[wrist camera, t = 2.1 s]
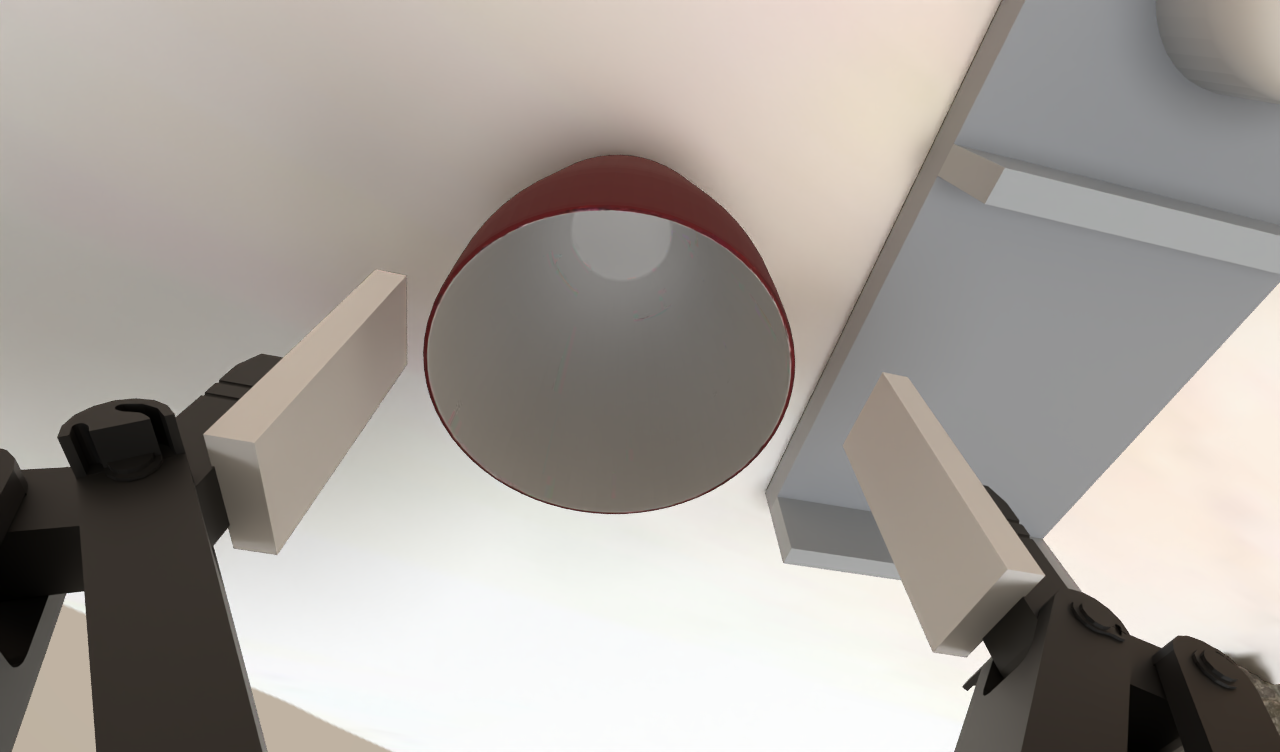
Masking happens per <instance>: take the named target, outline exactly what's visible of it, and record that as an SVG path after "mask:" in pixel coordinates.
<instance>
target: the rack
mask: <svg viewBox="0 0 1280 752" xmlns="http://www.w3.org/2000/svg"><path fill="white" fill-rule="evenodd" d="M1279 282H1280V104H1274V103H1268V102H1262V101H1256V100H1250V99H1244V98H1238V97H1232V96H1227V95H1221V94H1216V93H1214V92H1211V91H1208V90H1206V89H1203V88H1201V87H1199V86H1198V85H1196V84H1195V83H1193V82H1191V81H1190V80H1188V79H1187V78H1186V77H1185V76H1184V75H1183V74H1182V73H1181V72H1180V71H1179V70H1178V69H1177V68H1176V67H1175V65H1174V64H1173V62H1172V61H1171V59H1170V57H1169V56H1168V54H1167V53H1166V50H1165V47H1164V45H1163V42H1162V39H1161V37H1160V33H1159V27H1158V22H1157V17H1156V0H1002V2H1001V4H1000V6H999V8H998V10H997V12H996V14H995V16H994V19H993V21H992V23H991V25H990V27H989V29H988V31H987V33H986V35H985V37H984V39H983V41H982V43H981V46H980V48H979V50H978V52H977V54H976V56H975V58H974V60H973V62H972V64H971V66H970V68H969V70H968V73H967V75H966V77H965V79H964V81H963V83H962V85H961V87H960V89H959V91H958V93H957V95H956V98H955V100H954V102H953V104H952V106H951V108H950V110H949V112H948V114H947V116H946V118H945V120H944V122H943V125H942V127H941V129H940V131H939V133H938V135H937V137H936V139H935V141H934V143H933V145H932V147H931V149H930V152H929V154H928V156H927V158H926V160H925V162H924V164H923V166H922V168H921V170H920V172H919V174H918V176H917V179H916V181H915V183H914V185H913V187H912V189H911V191H910V193H909V195H908V197H907V199H906V201H905V203H904V206H903V208H902V210H901V212H900V214H899V216H898V218H897V220H896V222H895V224H894V226H893V228H892V230H891V233H890V235H889V237H888V239H887V241H886V243H885V245H884V247H883V249H882V251H881V253H880V255H879V257H878V260H877V262H876V264H875V266H874V268H873V270H872V272H871V274H870V276H869V278H868V280H867V282H866V284H865V287H864V289H863V291H862V293H861V295H860V297H859V299H858V301H857V303H856V305H855V307H854V309H853V311H852V314H851V316H850V318H849V320H848V322H847V324H846V326H845V328H844V330H843V332H842V334H841V336H840V339H839V341H838V343H837V345H836V347H835V349H834V351H833V353H832V355H831V357H830V359H829V361H828V363H827V366H826V368H825V370H824V372H823V374H822V376H821V378H820V380H819V382H818V384H817V386H816V388H815V390H814V393H813V395H812V397H811V399H810V401H809V403H808V405H807V407H806V409H805V411H804V413H803V415H802V417H801V420H800V422H799V424H798V426H797V428H796V430H795V432H794V434H793V436H792V438H791V440H790V442H789V444H788V447H787V449H786V451H785V453H784V455H783V457H782V459H781V461H780V463H779V465H778V467H777V469H776V471H775V474H774V476H773V478H772V480H771V482H770V484H769V486H768V488H767V490H766V492H765V494H766V497H767V501H768V505H769V509H770V513H771V517H772V521H773V525H774V529H775V533H776V537H777V541H778V544H779V548H780V552H781V556H782V560H783V563H786V564H793V565H800V566H807V567H813V568H820V569H827V570H834V571H841V572H848V573H855V574H862V575H869V576H875V577H882V578H889V579H896V580H901V578H900V576H899V574H898V571H897V569H896V567H895V564H894V562H893V560H892V558H891V555H890V553H889V551H888V548H887V546H886V544H885V542H884V539H883V537H882V535H881V532H880V530H879V528H878V525H877V523H876V521H875V519H874V516H873V514H872V512H871V509H870V507H869V505H868V503H867V500H866V498H865V496H864V493H863V491H862V489H861V487H860V484H859V482H858V480H857V477H856V475H855V473H854V471H853V468H852V466H851V464H850V461H849V459H848V457H847V454H846V452H845V450H844V448H843V444H844V442H845V440H846V438H847V436H848V435H849V433H850V431H851V429H852V427H853V425H854V424H855V422H856V420H857V418H858V416H859V414H860V413H861V411H862V409H863V407H864V405H865V404H866V402H867V400H868V398H869V396H870V394H871V393H872V391H873V389H874V387H875V385H876V383H877V382H878V380H879V378H880V376H881V374H882V372H885V373H890V374H894V375H899V376H904V377H908V378H909V380H910V381H911V382H912V384H913V385H914V387H915V388H916V390H917V391H918V393H919V394H920V395H921V397H922V398H923V400H924V401H925V403H926V404H927V406H928V407H929V408H930V410H931V411H932V413H933V414H934V416H935V417H936V419H937V420H938V421H939V423H940V424H941V426H942V427H943V429H944V430H945V431H946V433H947V434H948V436H949V437H950V439H951V440H952V442H953V443H954V444H955V446H956V447H957V449H958V450H959V452H960V453H961V455H962V456H963V457H964V459H965V460H966V462H967V463H968V465H969V466H970V468H971V469H972V470H973V472H974V473H975V475H976V476H977V478H978V479H979V481H980V482H981V483H982V485H985V486H989V487H990V488H991V489H992V490H993V491H994V492H995V493H996V494H997V495H999V496H1000V497H1001V498H1002V499H1003V500H1004V501H1005V502H1006V503H1007V504H1008V505H1009V507H1010V508H1011V509H1012V511H1013V512H1014V514H1015V515H1016V516H1017V518H1018V519H1019V521H1020V522H1019V524H1022V525H1023V526H1024V528H1025V529H1026V530H1027V532H1028V533H1029V535H1030V539H1033V540H1034V541H1035V543H1036V544H1037V546H1038V547H1039V548H1040V550H1041V551H1042V553H1043V554H1044V555H1045V557H1046V558H1047V560H1048V561H1049V562H1050V564H1051V565H1052V567H1053V568H1054V569H1055V571H1056V572H1057V574H1058V575H1059V576H1060V578H1061V579H1062V581H1063V582H1064V583H1065V585H1066V586H1067V588H1069V589H1073V590H1076V591H1080V592H1082V591H1081V590H1080V589H1079V587H1078V586H1077V585H1076V583H1075V582H1074V581H1073V579H1072V578H1071V577H1070V575H1069V574H1068V573H1067V571H1066V570H1065V568H1064V567H1063V566H1062V564H1061V563H1060V562H1059V560H1058V559H1057V558H1056V556H1055V555H1054V554H1053V552H1052V551H1051V550H1050V548H1049V547H1048V546H1047V544H1046V543H1045V542H1044V540H1043V538H1044V537H1045V536H1046V535H1047V534H1048V532H1049V531H1050V530H1051V529H1052V528H1053V527H1054V526H1055V525H1056V524H1057V523H1058V522H1059V521H1060V519H1061V518H1062V517H1063V516H1064V515H1065V514H1066V513H1067V512H1068V511H1069V510H1070V509H1071V508H1072V506H1073V505H1074V504H1075V503H1076V502H1077V501H1078V500H1079V499H1080V498H1081V497H1082V496H1083V495H1084V493H1085V492H1086V491H1087V490H1088V489H1089V488H1090V487H1091V486H1092V485H1093V484H1094V483H1095V482H1096V480H1097V479H1098V478H1099V477H1100V476H1101V475H1102V474H1103V473H1104V472H1105V471H1106V470H1107V469H1108V468H1109V466H1110V465H1111V464H1112V463H1113V462H1114V461H1115V460H1116V459H1117V458H1118V457H1119V456H1120V455H1121V453H1122V452H1123V451H1124V450H1125V449H1126V448H1127V447H1128V446H1129V445H1130V444H1131V443H1132V442H1133V440H1134V439H1135V438H1136V437H1137V436H1138V435H1139V434H1140V433H1141V432H1142V431H1143V430H1144V429H1145V427H1146V426H1147V425H1148V424H1149V423H1150V422H1151V421H1152V420H1153V419H1154V418H1155V417H1156V416H1157V414H1158V413H1159V412H1160V411H1161V410H1162V409H1163V408H1164V407H1165V406H1166V405H1167V404H1168V403H1169V401H1170V400H1171V399H1172V398H1173V397H1174V396H1175V395H1176V394H1177V393H1178V392H1179V391H1180V390H1181V389H1182V387H1183V386H1184V385H1185V384H1186V383H1187V382H1188V381H1189V380H1190V379H1191V378H1192V377H1193V376H1194V374H1195V373H1196V372H1197V371H1198V370H1199V369H1200V368H1201V367H1202V366H1203V365H1204V364H1205V363H1206V361H1207V360H1208V359H1209V358H1210V357H1211V356H1212V355H1213V354H1214V353H1215V352H1216V351H1217V350H1218V348H1219V347H1220V346H1221V345H1222V344H1223V343H1224V342H1225V341H1226V340H1227V339H1228V338H1229V337H1230V335H1231V334H1232V333H1233V332H1234V331H1235V330H1236V329H1237V328H1238V327H1239V326H1240V325H1241V324H1242V323H1243V321H1244V320H1245V319H1246V318H1247V317H1248V316H1249V315H1250V314H1251V313H1252V312H1253V311H1254V310H1255V308H1256V307H1257V306H1258V305H1259V304H1260V303H1261V302H1262V301H1263V300H1264V299H1265V298H1266V297H1267V295H1268V294H1269V293H1270V292H1271V291H1272V290H1273V289H1274V288H1275V287H1276V286H1277V285H1278V284H1279Z"/></svg>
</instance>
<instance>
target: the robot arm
mask: <svg viewBox="0 0 1280 752" xmlns="http://www.w3.org/2000/svg"><path fill="white" fill-rule="evenodd" d="M406 365H407V276H406V275H402V274H397V273H392V272H387V271H382V270H377V269H376V270H375V271H373V272H372V273H371V274H370V275H369V276H368V277H367V278H366V279H365V280H364V281H363V282H362V283H361V284H360V285H359V286H358V287H357V288H356V289H355V290H354V291H353V292H351V293H350V294H349V295H348V296H347V297H346V298H345V299H344V300H343V301H342V302H341V303H340V304H339V305H338V306H337V307H336V308H335V309H334V310H333V311H332V312H331V313H330V314H328V315H327V316H326V317H325V318H324V319H323V320H322V321H321V322H320V323H319V324H318V325H317V326H316V327H315V328H314V329H313V330H312V331H311V332H310V333H309V334H308V335H306V336H305V337H304V338H303V339H302V340H301V341H300V342H299V343H298V344H297V345H296V346H295V347H294V348H293V349H292V350H291V351H290V352H289V353H288V354H287V355H286V356H285V357H283V358H282V357H277V356H271V355H266V354H260V355H258V356H256V357H253V358H251V359H249V360H247V361H244V362H242V363H240V364H237V365H236V366H235V367H234V368H232V369H231V370H230V371H229V372H228V373H227V374H225V375H224V376H223V377H222V378H221V379H220V380H219V383H215V384H214V385H213V386H212V387H210V388H209V389H208V390H207V391H206V392H205V395H204V396H202V395H201V396H200V397H199V398H198V399H197V400H195V401H194V402H193V403H192V404H191V405H190V406H188V407H187V408H186V409H185V410H184V411H183V412H182V413H180V414H179V415H178V416H177V417H176V418H175V415H174V413H173V412H172V411H171V409H170V408H169V407H168V406H167V405H165V404H162V403H160V402H158V401H155V400H146V399H137V398H136V399H125V400H115V401H111V402H107V403H103V404H100V405H96V406H93V407H90V408H88V409H86V410H84V411H82V412H80V413H78V414H76V415H74V416H73V417H72V418H70V419H69V420H68V421H67V422H66V423H65V424H63V425H62V427H61V429H60V432H59V434H58V437H57V438H58V440H59V442H60V444H61V447H62V449H63V451H64V453H65V455H66V458H67V460H68V462H69V464H70V466H71V467H64V468H46V469H28V470H21V469H20V467H19V465H18V464H17V462H16V460H15V458H14V457H13V456H12V455H11V454H10V453H9V452H8V451H7V450H4V449H0V752H12V749H13V746H14V743H15V740H16V737H17V734H18V731H19V729H20V726H21V723H22V720H23V717H24V714H25V711H26V709H27V705H28V703H29V700H30V697H31V694H32V691H33V688H34V685H35V682H36V680H37V677H38V673H39V671H40V668H41V665H42V662H43V659H44V657H45V654H46V651H47V648H48V645H49V642H50V639H51V636H52V633H53V630H54V628H55V625H56V622H57V619H58V616H59V613H60V610H61V607H62V604H63V602H64V599H65V596H66V593H73V592H81V591H84V592H85V606H86V619H87V632H88V646H89V659H90V673H91V686H92V699H93V713H94V726H95V739H96V752H268V751H267V748H266V744H265V740H264V736H263V732H262V729H261V725H260V721H259V717H258V714H257V710H256V706H255V702H254V698H253V694H252V691H251V687H250V683H249V679H248V675H247V671H246V668H245V664H244V660H243V656H242V652H241V649H240V645H239V641H238V637H237V633H236V630H235V626H234V622H233V618H232V614H231V611H230V607H229V603H228V599H227V595H226V592H225V588H224V584H223V580H222V576H221V572H220V569H219V565H218V561H217V557H216V554H215V550H214V547H213V546H214V544H215V543H216V542H217V541H218V539H219V538H220V537H221V536H222V534H223V533H224V532H225V531H226V530H227V528H228V529H229V533H230V537H231V540H232V544H233V548H234V549H241V550H248V551H254V552H261V553H268V554H274V555H278V553H279V552H280V550H281V549H282V547H283V546H284V544H285V543H286V541H287V540H288V539H289V537H290V536H291V534H292V533H293V531H294V530H295V528H296V527H297V525H298V524H299V522H300V521H301V519H302V518H303V516H304V515H305V514H306V512H307V511H308V509H309V508H310V506H311V505H312V503H313V502H314V500H315V499H316V497H317V496H318V494H319V493H320V492H321V490H322V489H323V487H324V486H325V484H326V483H327V481H328V480H329V478H330V477H331V475H332V474H333V472H334V471H335V470H336V468H337V467H338V465H339V464H340V462H341V461H342V459H343V458H344V456H345V455H346V453H347V452H348V450H349V449H350V447H351V446H352V445H353V443H354V442H355V440H356V439H357V437H358V436H359V434H360V433H361V431H362V430H363V428H364V427H365V425H366V424H367V423H368V421H369V420H370V418H371V417H372V415H373V414H374V412H375V411H376V409H377V408H378V406H379V405H380V403H381V402H382V401H383V399H384V398H385V396H386V395H387V393H388V392H389V390H390V389H391V387H392V386H393V384H394V383H395V381H396V380H397V378H398V377H399V376H400V374H401V373H402V371H403V370H404V368H405V367H406ZM843 448H844V450H845V452H846V454H847V457H848V459H849V461H850V464H851V466H852V468H853V471H854V473H855V475H856V477H857V480H858V482H859V484H860V487H861V489H862V491H863V493H864V496H865V498H866V500H867V503H868V505H869V507H870V509H871V512H872V514H873V516H874V519H875V521H876V523H877V525H878V528H879V530H880V532H881V535H882V537H883V539H884V542H885V544H886V546H887V548H888V551H889V553H890V555H891V558H892V560H893V562H894V564H895V567H896V569H897V571H898V574H899V576H900V578H901V580H902V583H903V585H904V587H905V590H906V592H907V594H908V596H909V599H910V601H911V603H912V606H913V608H914V610H915V613H916V615H917V617H918V619H919V622H920V624H921V626H922V629H923V631H924V633H925V635H926V638H927V640H928V642H929V645H930V647H931V649H932V651H933V652H934V653H940V654H947V655H954V656H960V657H967V656H968V655H969V654H970V653H971V652H972V651H973V650H974V649H975V648H976V647H977V646H978V645H979V644H980V643H981V642H982V641H984V643H985V645H986V647H987V649H988V651H989V653H990V655H991V658H990V659H989V660H988V661H987V662H986V663H985V664H984V665H983V666H982V667H981V668H980V669H979V670H978V671H977V672H976V673H975V674H974V675H973V676H972V677H971V678H970V679H969V680H968V681H967V682H966V683H965V684H964V685H963V688H964V689H966V690H967V691H968V690H969V689H970V688H971V687H972V686H974V685H976V687H975V690H974V693H973V696H972V699H971V702H970V705H969V708H968V711H967V714H966V718H965V721H964V724H963V727H962V730H961V733H960V736H959V739H958V742H957V745H956V748H955V751H954V752H1182V751H1184V752H1280V735H1279V733H1278V731H1277V729H1276V727H1275V725H1274V723H1273V721H1272V719H1271V717H1270V715H1269V713H1268V711H1267V709H1266V707H1265V705H1264V703H1263V701H1262V699H1261V697H1260V695H1259V693H1258V691H1257V689H1256V688H1255V686H1254V685H1253V683H1252V682H1251V680H1250V679H1249V677H1248V676H1247V675H1246V674H1245V673H1244V672H1243V671H1242V670H1241V669H1240V668H1239V667H1238V666H1237V664H1236V663H1235V662H1234V661H1233V660H1231V659H1230V658H1229V657H1228V656H1227V657H1226V656H1225V654H1224V653H1222V652H1221V651H1219V650H1218V649H1216V648H1213V647H1212V646H1210V645H1208V644H1206V643H1205V642H1203V641H1201V640H1198V639H1195V638H1192V637H1190V636H1177V637H1176V638H1174V639H1173V640H1172V641H1170V642H1169V643H1168V644H1167V645H1165V646H1164V647H1163V648H1160V647H1157V646H1155V645H1153V644H1150V643H1148V642H1145V641H1143V640H1141V639H1138V638H1136V637H1133V636H1131V635H1129V632H1128V631H1127V629H1126V628H1125V626H1124V625H1123V623H1122V622H1121V621H1120V620H1119V619H1118V618H1117V617H1116V616H1115V615H1114V614H1113V613H1112V612H1111V611H1110V610H1109V609H1108V608H1107V607H1106V606H1104V605H1103V604H1101V603H1100V602H1099V601H1097V600H1096V599H1094V598H1092V597H1090V596H1088V595H1086V594H1084V593H1082V592H1080V591H1076V590H1073V589H1069V588H1067V586H1066V585H1065V583H1064V582H1063V581H1062V579H1061V578H1060V576H1059V575H1058V574H1057V572H1056V571H1055V569H1054V568H1053V567H1052V565H1051V564H1050V562H1049V561H1048V560H1047V558H1046V557H1045V555H1044V554H1043V553H1042V551H1041V550H1040V548H1039V547H1038V546H1037V544H1036V543H1035V541H1034V540H1033V539H1030V535H1029V533H1028V532H1027V530H1026V529H1025V528H1024V526H1023V525H1022V524H1019V522H1020V521H1019V519H1018V518H1017V516H1016V515H1015V514H1014V512H1013V511H1012V509H1011V508H1010V507H1009V505H1008V504H1007V503H1006V502H1005V501H1004V500H1003V499H1002V498H1001V497H1000V496H999V495H997V494H996V493H995V492H994V491H993V490H992V489H991V488H990V487H989V486H985V485H982V483H981V482H980V481H979V479H978V478H977V476H976V475H975V473H974V472H973V470H972V469H971V468H970V466H969V465H968V463H967V462H966V460H965V459H964V457H963V456H962V455H961V453H960V452H959V450H958V449H957V447H956V446H955V444H954V443H953V442H952V440H951V439H950V437H949V436H948V434H947V433H946V431H945V430H944V429H943V427H942V426H941V424H940V423H939V421H938V420H937V419H936V417H935V416H934V414H933V413H932V411H931V410H930V408H929V407H928V406H927V404H926V403H925V401H924V400H923V398H922V397H921V395H920V394H919V393H918V391H917V390H916V388H915V387H914V385H913V384H912V382H911V381H910V380H909V378H908V377H904V376H899V375H894V374H890V373H885V372H882V374H881V376H880V378H879V380H878V382H877V383H876V385H875V387H874V389H873V391H872V393H871V394H870V396H869V398H868V400H867V402H866V404H865V405H864V407H863V409H862V411H861V413H860V414H859V416H858V418H857V420H856V422H855V424H854V425H853V427H852V429H851V431H850V433H849V435H848V436H847V438H846V440H845V442H844V444H843Z"/></svg>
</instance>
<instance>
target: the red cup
mask: <svg viewBox="0 0 1280 752" xmlns="http://www.w3.org/2000/svg"><path fill="white" fill-rule="evenodd" d="M423 357H424V371H425V377H426V383H427V387H428V391H429V394H430V398H431V400H432V403H433V405H434V408H435V410H436V412H437V414H438V416H439V418H440V420H441V422H442V424H443V425H444V427H445V428H446V430H447V431H448V433H449V434H450V436H451V437H452V439H453V440H454V441H455V442H456V444H457V445H458V446H459V447H460V448H461V450H462V451H463V452H464V453H465V454H466V455H467V456H468V457H469V458H470V459H471V460H472V461H473V462H475V463H476V464H477V465H478V466H479V467H480V468H481V469H483V470H484V471H485V472H487V473H488V474H489V475H491V476H492V477H494V478H495V479H496V480H498V481H500V482H501V483H503V484H505V485H506V486H508V487H510V488H512V489H514V490H516V491H518V492H519V493H521V494H524V495H526V496H528V497H531V498H533V499H535V500H538V501H541V502H544V503H547V504H550V505H554V506H557V507H561V508H565V509H570V510H575V511H581V512H589V513H600V514H629V513H641V512H647V511H654V510H659V509H663V508H668V507H671V506H675V505H678V504H681V503H685V502H687V501H690V500H692V499H695V498H697V497H700V496H702V495H704V494H706V493H708V492H710V491H712V490H714V489H716V488H717V487H719V486H721V485H723V484H724V483H726V482H727V481H729V480H730V479H732V478H733V477H734V476H736V475H737V474H738V473H740V472H741V471H742V470H743V469H744V468H746V467H747V466H748V465H749V464H750V463H751V462H752V461H753V460H754V459H755V458H756V457H757V456H758V455H759V454H760V453H761V451H762V450H763V449H764V448H765V447H766V445H767V444H768V443H769V441H770V440H771V438H772V437H773V435H774V434H775V432H776V431H777V429H778V427H779V425H780V423H781V421H782V419H783V417H784V414H785V412H786V409H787V407H788V404H789V400H790V397H791V393H792V389H793V382H794V374H795V355H794V344H793V339H792V334H791V329H790V325H789V322H788V319H787V316H786V313H785V310H784V308H783V305H782V303H781V300H780V297H779V295H778V292H777V290H776V288H775V285H774V283H773V281H772V279H771V277H770V274H769V272H768V270H767V268H766V266H765V264H764V261H763V259H762V257H761V256H760V254H759V252H758V251H757V249H756V247H755V246H754V244H753V243H752V241H751V240H750V238H749V237H748V235H747V234H746V233H745V231H744V230H743V229H742V227H741V226H740V225H739V224H738V223H737V221H736V220H735V219H734V218H733V217H732V216H731V215H730V214H729V213H728V212H727V211H726V210H725V209H724V208H723V207H722V206H721V205H719V204H718V203H717V202H716V201H715V200H713V199H712V198H711V197H710V196H709V195H707V194H706V193H705V192H703V191H702V190H700V189H699V188H698V187H696V186H695V185H694V184H692V183H691V182H689V181H688V180H687V179H685V178H684V177H683V176H681V175H680V174H678V173H677V172H675V171H673V170H672V169H670V168H668V167H666V166H664V165H662V164H659V163H657V162H654V161H651V160H648V159H644V158H640V157H635V156H627V155H607V156H599V157H595V158H590V159H586V160H583V161H580V162H577V163H575V164H573V165H571V166H568V167H566V168H564V169H562V170H560V171H558V172H556V173H554V174H552V175H550V176H548V177H546V178H544V179H541V180H539V181H537V182H536V183H534V184H532V185H531V186H529V187H527V188H526V189H524V190H522V191H521V192H519V193H518V194H517V195H515V196H514V197H513V198H511V199H510V200H509V201H507V202H506V203H505V204H504V205H502V206H501V207H500V208H499V209H498V210H497V211H496V212H495V213H494V214H493V215H492V216H491V217H490V218H489V219H488V220H487V221H486V222H485V223H484V224H483V226H482V227H481V228H480V229H479V230H478V232H477V233H476V234H475V235H474V237H473V238H472V239H471V241H470V242H469V244H468V245H467V247H466V248H465V250H464V251H463V253H462V254H461V256H460V258H459V259H458V261H457V262H456V264H455V265H454V267H453V269H452V270H451V272H450V274H449V275H448V277H447V279H446V280H445V282H444V284H443V285H442V287H441V289H440V291H439V293H438V295H437V298H436V300H435V302H434V304H433V307H432V310H431V313H430V316H429V319H428V323H427V327H426V332H425V338H424V351H423Z"/></svg>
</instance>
